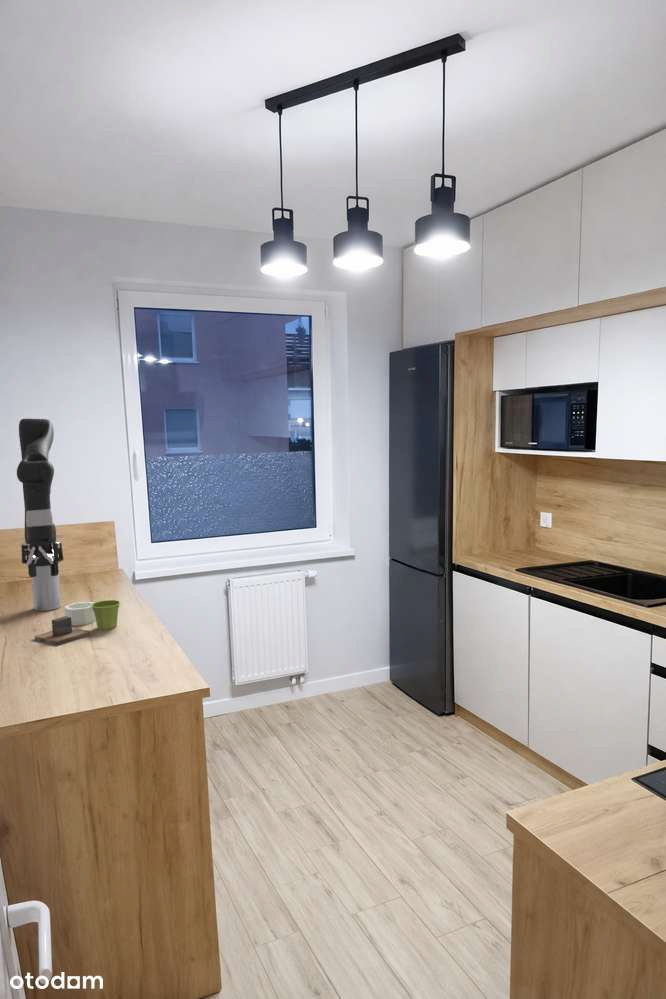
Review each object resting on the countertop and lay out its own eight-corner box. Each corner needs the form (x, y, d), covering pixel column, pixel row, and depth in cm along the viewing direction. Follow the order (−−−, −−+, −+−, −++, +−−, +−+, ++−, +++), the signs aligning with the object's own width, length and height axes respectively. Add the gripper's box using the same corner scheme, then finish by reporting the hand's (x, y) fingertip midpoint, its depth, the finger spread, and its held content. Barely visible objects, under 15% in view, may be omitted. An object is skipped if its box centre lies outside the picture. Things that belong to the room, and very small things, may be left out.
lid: (34, 639, 210) (33, 620, 209) (67, 629, 220) (66, 611, 219) (57, 645, 203) (55, 625, 202) (90, 634, 213) (89, 616, 212)
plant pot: (128, 625, 224) (126, 601, 223) (107, 633, 215) (106, 608, 214) (107, 623, 227) (105, 599, 227) (86, 631, 219) (84, 605, 218)
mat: (30, 641, 209) (30, 640, 209) (68, 629, 221) (68, 628, 221) (56, 648, 202) (56, 646, 202) (95, 635, 213) (94, 634, 213)
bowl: (60, 624, 228) (59, 607, 228) (85, 616, 237) (83, 600, 236) (78, 627, 223) (76, 610, 222) (102, 620, 231) (101, 603, 231)
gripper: (66, 522, 205) (70, 574, 205) (31, 525, 210) (35, 575, 210) (48, 524, 198) (52, 577, 198) (12, 526, 203) (16, 578, 203)
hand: (43, 576), depth 204 cm, fingers open, 8 cm apart
